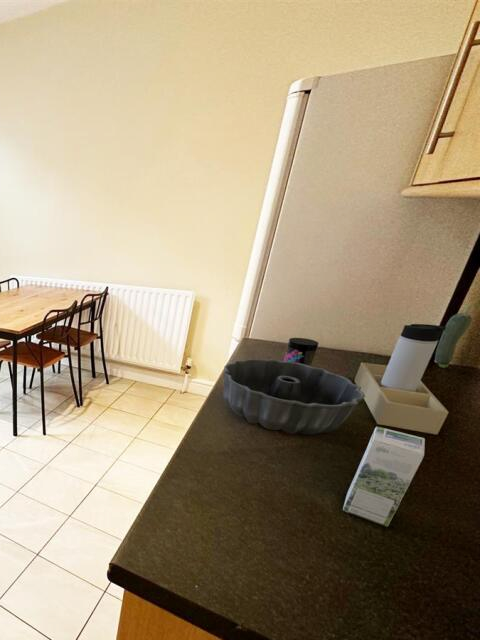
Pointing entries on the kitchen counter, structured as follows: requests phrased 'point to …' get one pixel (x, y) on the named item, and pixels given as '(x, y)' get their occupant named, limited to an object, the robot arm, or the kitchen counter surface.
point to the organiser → (400, 402)
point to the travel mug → (411, 356)
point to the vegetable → (453, 335)
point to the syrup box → (384, 475)
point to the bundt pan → (289, 395)
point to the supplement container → (301, 351)
